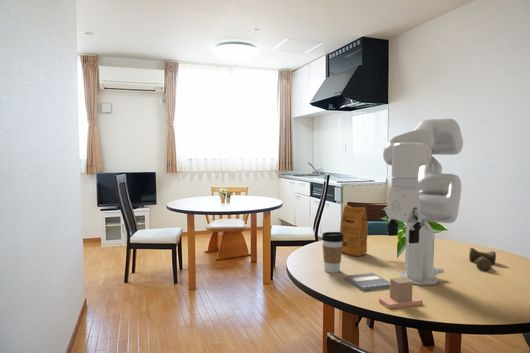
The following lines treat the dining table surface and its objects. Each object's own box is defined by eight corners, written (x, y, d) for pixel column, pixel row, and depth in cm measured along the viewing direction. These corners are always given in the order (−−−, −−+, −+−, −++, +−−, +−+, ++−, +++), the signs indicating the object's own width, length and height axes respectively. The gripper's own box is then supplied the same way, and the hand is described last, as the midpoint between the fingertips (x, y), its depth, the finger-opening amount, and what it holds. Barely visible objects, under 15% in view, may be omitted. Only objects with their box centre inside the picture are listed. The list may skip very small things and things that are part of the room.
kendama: (469, 270, 143) (468, 256, 160) (497, 275, 138) (493, 260, 156) (470, 256, 142) (469, 243, 160) (498, 260, 138) (495, 247, 155)
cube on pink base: (411, 297, 113) (412, 275, 113) (422, 304, 109) (423, 281, 108) (379, 301, 110) (379, 279, 109) (389, 308, 105) (389, 285, 105)
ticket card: (372, 275, 134) (373, 272, 134) (392, 287, 122) (393, 283, 122) (344, 278, 130) (344, 275, 130) (362, 291, 119) (362, 287, 119)
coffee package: (347, 248, 173) (348, 203, 172) (370, 253, 164) (371, 206, 162) (335, 252, 166) (336, 205, 165) (358, 257, 157) (359, 208, 156)
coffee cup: (343, 274, 135) (343, 235, 134) (320, 272, 137) (321, 234, 136) (342, 267, 143) (343, 231, 142) (321, 266, 145) (322, 230, 144)
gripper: (377, 181, 114) (375, 233, 115) (413, 186, 98) (411, 247, 99) (396, 180, 116) (395, 232, 117) (436, 185, 100) (433, 245, 101)
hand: (402, 239), depth 108 cm, fingers open, 9 cm apart
